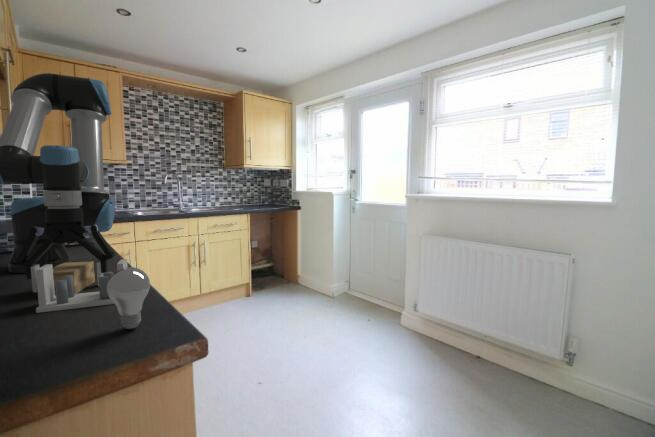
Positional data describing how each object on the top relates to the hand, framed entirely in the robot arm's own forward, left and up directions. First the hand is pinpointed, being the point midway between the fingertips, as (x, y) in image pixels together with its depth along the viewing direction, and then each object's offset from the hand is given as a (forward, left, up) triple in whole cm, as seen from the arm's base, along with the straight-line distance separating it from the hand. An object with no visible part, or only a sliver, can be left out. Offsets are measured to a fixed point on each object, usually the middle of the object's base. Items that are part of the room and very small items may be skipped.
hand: (70, 287), depth 84 cm
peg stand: (+13, +7, 0) cm, 15 cm away
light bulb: (+33, +19, 0) cm, 38 cm away
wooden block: (0, 0, 0) cm, 0 cm away
